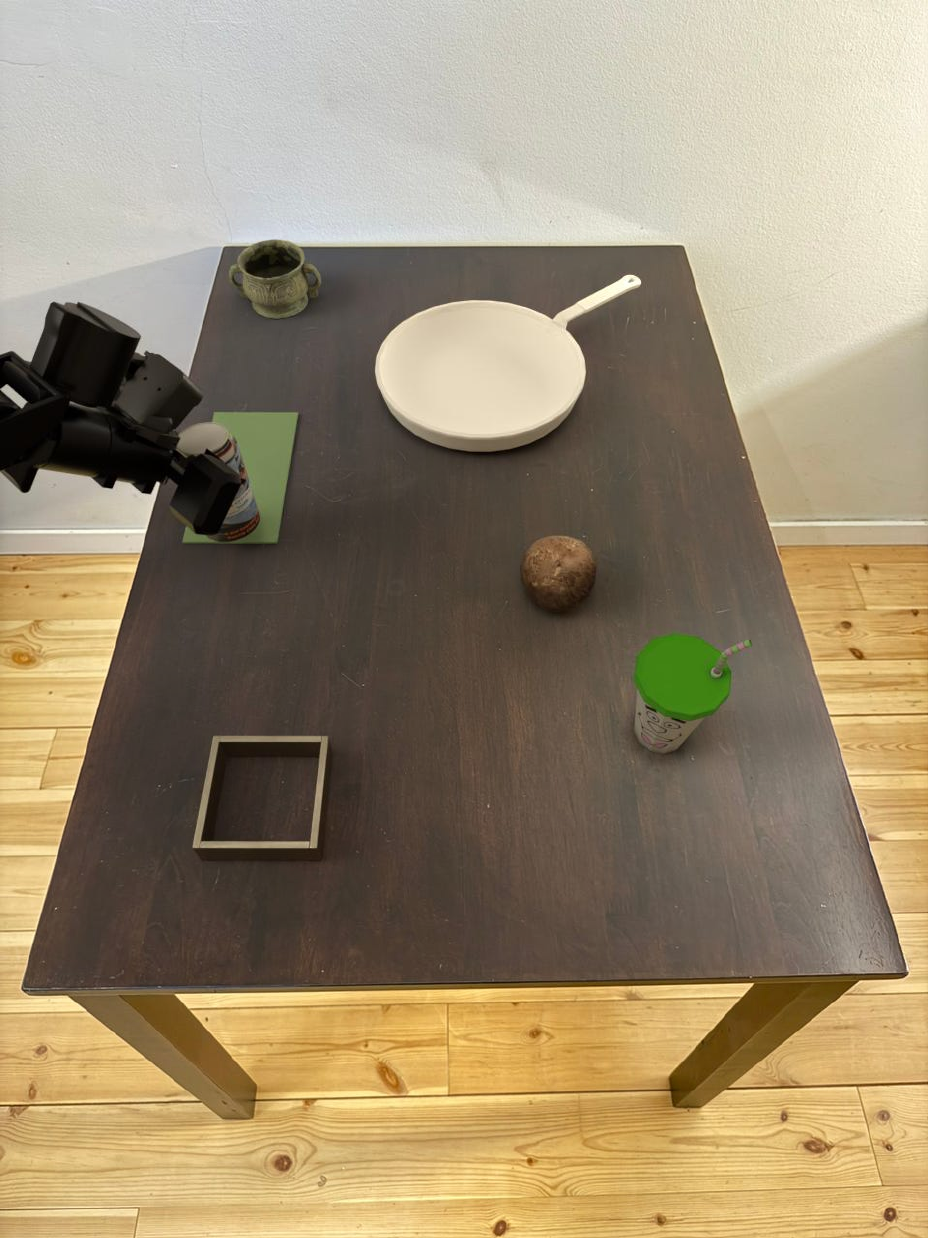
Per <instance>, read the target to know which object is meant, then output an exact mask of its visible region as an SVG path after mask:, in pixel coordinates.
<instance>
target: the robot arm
mask: <svg viewBox="0 0 928 1238" xmlns="http://www.w3.org/2000/svg"><path fill="white" fill-rule="evenodd" d="M141 339H142V335H141V334H140V333H139V331H137V330H136V329H135V328H134V327H132V326H130V325H128V324H127V323H125V322H123V321H122V320H120V319H118V318H116V317H115V316H113V315H110V314H109V313H107V312H104V311H102V310H100V309H98V308H96V307H94V306H91V305H88V304H86V303H83V302H80V301H77V303H75V302H69V301H67V302H64V304H63V303H59V302H57V301H52V302H50V304H49V306H48V308H47V312H46V314H45V318H44V324H43V329H42V332H41V334H40V337H39V340H38V343H37V345H36V348H35V350H34V353H33V356H32V358H31V361H29V360H25V359H24V358H23V357H21V356H20V355H19V354H18V353H17V352H15V351H14V350H10V351H9V350H8V351H7V352H3V353H1V354H0V473H1V474H2V475H3V476H4V477H5V478H6V479H7V480H8V481H9V482H10V483H11V484H12V485H13V486H14V487H15V488H17V490H18V491H19V492H20V493H22V494H27V493H29V492H30V491H31V489H32V487H33V484H34V481H35V478H36V476H37V474H38V471H39V470H45V471H50V472H56V473H63V474H70V475H74V476H83V477H88V478H91V479H92V480H93V481H94V482H95V483H97V484H98V485H99V486H100V487H101V488H103V489H109V490H110V489H111V490H113V489H114V487H115V484H116V482H121V483H126V484H130V485H132V487H134V488H135V489H136V490H137V491H139V493H141V494H143V495H152V493H153V491H154V489H155V487H156V484H157V483H159V484H160V485H162V486H166V485H167V484H168V482H169V480H171V482H173V483H174V484H175V485H176V488H175V490H174V493H173V495H172V497H171V500H170V502H169V503H168V505H169V508H170V510H171V514H172V515H173V516H174V517H175V518H176V519H178V520H179V521H180V522H181V523H182V524H183V525H185V527H186V526H187V527H188V528H189V529H191V530H192V531H193V532H194V533H195V534H199V535H209V536H212V535H215V534H218V532H219V530H220V528H221V526H222V524H223V522H224V520H225V518H226V516H227V514H228V511H229V509H230V507H231V505H232V503H233V501H234V499H235V497H236V495H237V493H238V491H239V488H240V486H241V485H242V484H245V482H246V480H245V479H244V478H241V477H240V475H239V474H238V473H237V472H235V471H234V470H233V469H232V468H230V467H229V466H228V465H227V464H225V463H224V461H223V460H221V459H220V458H219V457H218V456H216V455H215V454H214V453H212V452H211V451H210V450H209V449H207V448H206V450H205V453H204V454H202V453H201V454H199V455H198V456H197V455H189V456H188V457H187V456H185V455H184V454H183V453H182V452H180V451H179V450H178V449H177V448H176V447H177V445H178V443H179V440H180V437H179V436H178V435H179V434H180V433H181V432H178V431H176V430H177V428H179V426H180V425H181V424H182V423H183V421H184V420H185V419H186V418H187V417H188V416H189V414H190V413H191V412H192V410H194V408H195V407H197V406H199V405H200V403H201V402H202V400H203V399H204V391H203V389H202V388H201V387H199V385H198V384H196V383H195V382H194V381H193V379H191V378H190V377H189V376H188V375H187V374H186V373H185V372H183V370H181V368H179V367H177V366H176V365H175V364H173V363H172V362H171V361H169V360H168V359H167V358H165V357H164V356H163V355H161V354H159V353H154V352H150V351H149V350H145V351H144V353H143V355H142V354H141V353H139V352H136V351H137V348H138V346H139V343H140V341H141ZM5 386H8V387H9V388H11V389H12V390H13V391H14V392H15V393H16V394H17V395H19V396H20V397H21V398H22V399H23V400H25V402H26V403H24V405H23V406H22V407H21V406H20V405H18V403H17V402H15V401H14V399H12V398H10V396H9V395H7V394H6V393H5V392H4V391H3V390H2V389H3V388H4V387H5Z"/></svg>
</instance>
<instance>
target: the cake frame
mask: <svg viewBox="0 0 928 1238" xmlns="http://www.w3.org/2000/svg"><path fill="white" fill-rule="evenodd" d="M333 751H334V750H333V748H332V744H331V741H330V737H329V736H328V735H213V736H212V740H211V748H210V752H209V756H208V761H207V762H208V763H207V767H206V772H205V778H204V783H203V788H202V795H201V798H200V799H201V800H200V805H199V810H198V815H197V821H196V826H195V832H194V837H193V841H192V850H193V851H194V852H195V853H196V855H197V856H198V857H199V859H200V860H201V861H322V860H323V853H324V844H325V843H324V842H325V834H326V833H325V832H326V823H327V813H328V802H329V794H330V793H329V792H330V781H331V771H332V763H333V761H332V760H333ZM227 757H228V758H229V757H231V758H233V757H239V758H241V757H247V758H248V757H249V758H253V757H254V758H255V757H256V758H257V757H261V758H262V757H263V758H265V757H267V758H268V757H269V758H270V757H271V758H273V757H275V758H276V757H279V758H281V757H282V758H285V757H287V758H288V757H289V758H290V757H291V758H292V757H294V758H297V757H299V758H301V757H302V758H303V757H305V758H307V757H308V758H311V757H312V758H316V757H317V758H318V767H317V776H316V786H315V795H314V803H313V813H312V814H313V815H312V822H311V832H310V839H309V840H298V841H297V840H213V838H214V837H213V836H214V831H215V825H216V820H217V813H218V809H219V802H220V797H221V792H222V785H223V779H224V774H225V769H226V768H225V767H226V763H227Z"/></svg>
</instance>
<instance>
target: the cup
mask: <svg viewBox="0 0 928 1238" xmlns="http://www.w3.org/2000/svg"><path fill="white" fill-rule="evenodd" d="M750 647H753V642H752V640H751V639H750V638H749V639H746V640H744V641H742V642H739V643H738V644H734V645H733V646H730V647H728V648H726V649H725V650H723V652H721V651H720V650H719V649H717V648H716V647H714V646H713V645H712V644H710V643H708V642H707V641H705V640H704V639H703V638H701V637H699V636H694V635H689V634H684V633H678V632H672V633H669V634H665V635H661V636H657V637H653V638H651V640H650V641H649V642H648V643H647V644H645V646H644V647H643V648H642V649H641V650H640V651H639V652H638V653H637V656H636V660H635V665H634V673H633V679H632V680H633V682H634V685H635V686H636V688H637V690H636V701H635V702H636V705H635V715H634V716H635V717H634V729H633V732H634V735H635V737H636V740H637V741H638V743H639V745H641V746H643V747H644V748H645V749H646V750H647V751H649V752H651V753H656V754H661V755H666V754H669V753H673V752H676V751H677V750H678V749H679V747H681V745H682V744H683V743H684V742H685V741H686V740H687V739H688V737H689V736H690V735H691V734H692V732H694V730H695V729H696V728H697V727H698V726H699V725H700V724H701V722H702V721H703V720H704V719H705V718H706V717H710V716H714V715H715V713H716V712H717V711H718V710H719V709H720V708H721V707H722V706H723V704H724V703H725V702H726V701H727V700H728V698H729V696H730V695H731V685H732V670H731V668H730V666H729V665H728V663H727V661H728V658H729V657H730V656H733V655H735V654H737V653H739V652H741V651H744V650H746V649H749V648H750Z"/></svg>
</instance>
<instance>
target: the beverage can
mask: <svg viewBox="0 0 928 1238" xmlns="http://www.w3.org/2000/svg"><path fill="white" fill-rule="evenodd" d="M179 433H180V434H179V435H178V436H179V437H180V440H179V443H178V445H177V447H176V448H177V449H178V450H179V451H180V452H182V453H183V454H184V455H185V456H187V457H188V456H189V455H197V456H198V455H199V454H201V453H202V454H204V453H205V450H206V448H207V449H209V450H210V451H211V452H212V453H214V454H215V455H216V456H218V457H219V458H220V459H221V460H223V461H224V463H225V464H227V465H228V466H229V467H230V468H232V469H233V470H234V471H235V472H237V473H238V474H239V475H240V477H241V478H244V479H245V480H246V482H245V484H242V485H241V486H240V488H239V491H238V493H237V495H236V497H235V499H234V501H233V503H232V505H231V507H230V509H229V511H228V514H227V516H226V518H225V520H224V522H223V524H222V526H221V528H220V530H219V532H218V534H215V535H212V536H209V535H206V536H207V537H208V538H209V539H211V540H214V541H218V542H233V541H238V540H240V539H243V538H245V537H246V536H248V535H249V534H250V533H252V532H253V531H254V530H255V529H256V527H257V526H258V524H259V522H260V513H259V510H258V507H257V504H256V501H255V497H254V494H253V491H252V488H251V485H250V481H249V478H248V475H247V472H246V469H245V465H244V462H243V459H242V456H241V453H240V449H239V446H238V443H237V441H236V439H235V438H234V436H233V435H232V434H230V433H229V432H228V431H227V429H226V428H225V427H224V426H222V425H220V424H218V423H213V422H212V421H207V422H199V423H195V424H192V425H190V426H187V427H186V428H184V429H183V430H182V431H181V432H179Z"/></svg>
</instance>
